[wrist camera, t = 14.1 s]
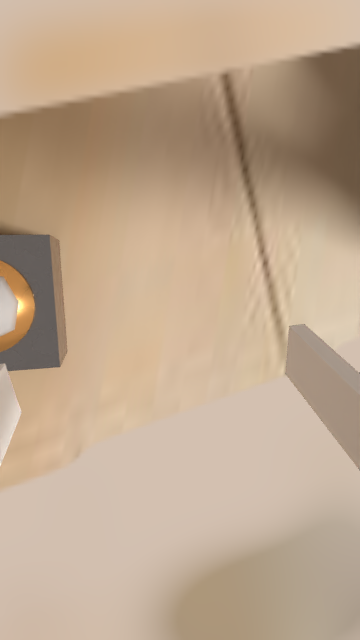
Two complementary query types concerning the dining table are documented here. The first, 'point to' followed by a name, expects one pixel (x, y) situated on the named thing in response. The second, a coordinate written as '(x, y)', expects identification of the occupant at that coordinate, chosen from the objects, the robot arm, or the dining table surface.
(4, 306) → the flask
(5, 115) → the dining table surface
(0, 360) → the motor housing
